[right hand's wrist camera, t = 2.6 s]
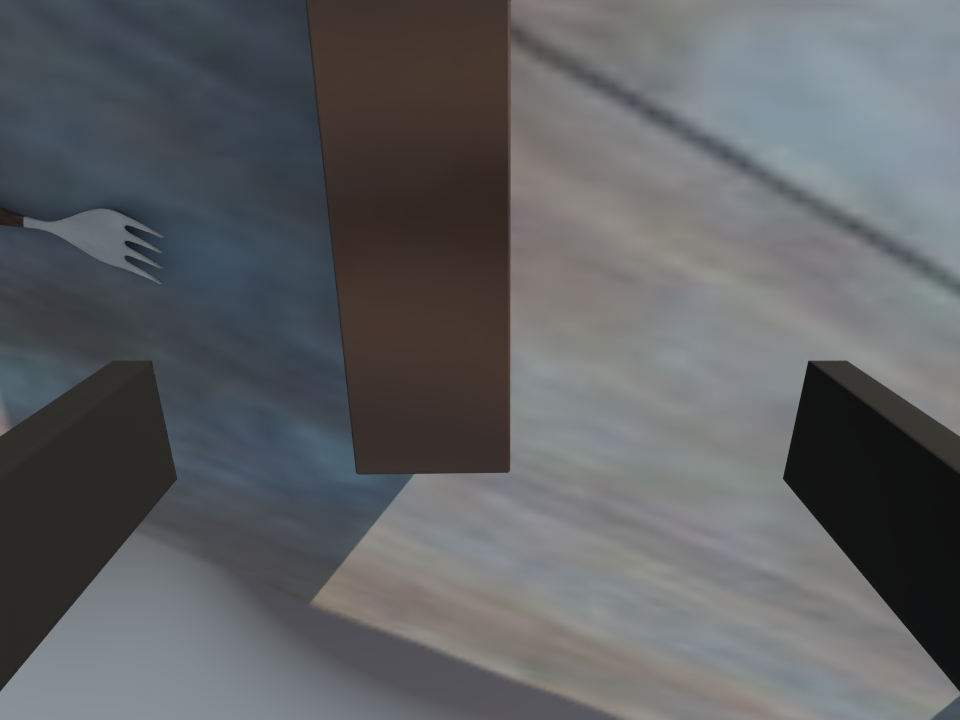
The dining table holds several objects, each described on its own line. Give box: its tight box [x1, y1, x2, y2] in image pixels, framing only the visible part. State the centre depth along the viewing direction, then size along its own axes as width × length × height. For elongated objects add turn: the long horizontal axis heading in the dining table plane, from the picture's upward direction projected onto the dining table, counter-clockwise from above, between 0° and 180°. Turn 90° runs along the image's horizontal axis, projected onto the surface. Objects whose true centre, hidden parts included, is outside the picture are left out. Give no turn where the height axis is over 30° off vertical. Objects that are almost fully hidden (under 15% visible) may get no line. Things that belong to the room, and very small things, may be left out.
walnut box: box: [306, 0, 510, 474], centre depth 21 cm, size 30×6×10 cm, turn 1°
